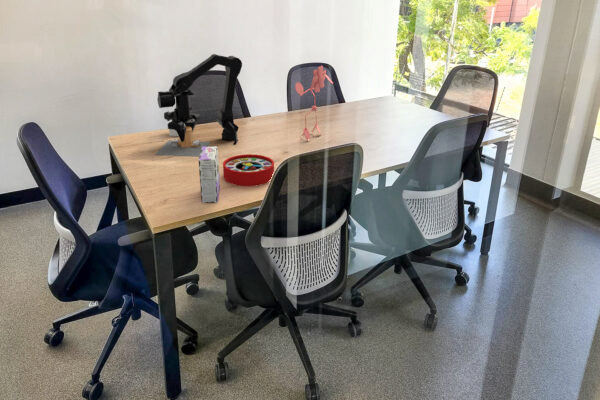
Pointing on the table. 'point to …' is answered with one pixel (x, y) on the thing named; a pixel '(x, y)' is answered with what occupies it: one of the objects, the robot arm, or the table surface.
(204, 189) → the candy box
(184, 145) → the tan rounded piece
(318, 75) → the figurine
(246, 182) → the toy clock
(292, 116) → the table surface
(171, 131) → the medicine bottle
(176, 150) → the stand
